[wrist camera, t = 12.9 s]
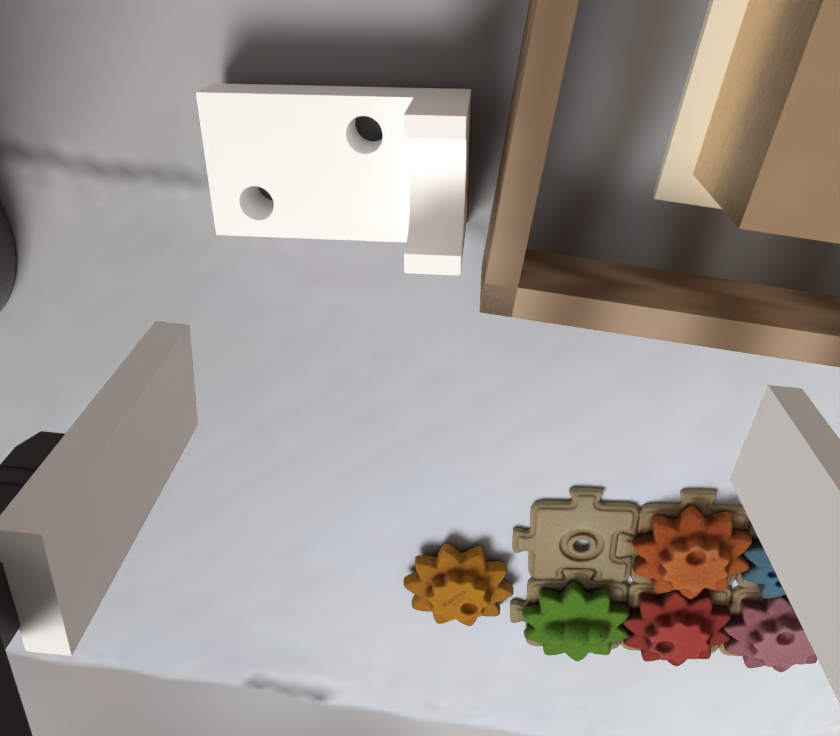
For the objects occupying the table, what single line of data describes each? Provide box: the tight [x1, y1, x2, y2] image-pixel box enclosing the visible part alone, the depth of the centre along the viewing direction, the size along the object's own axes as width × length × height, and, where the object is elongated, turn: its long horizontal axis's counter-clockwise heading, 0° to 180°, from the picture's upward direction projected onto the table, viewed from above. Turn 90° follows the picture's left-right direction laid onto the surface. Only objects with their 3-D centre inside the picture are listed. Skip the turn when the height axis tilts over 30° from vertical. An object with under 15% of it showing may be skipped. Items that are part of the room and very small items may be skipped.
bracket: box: [196, 83, 471, 275], centre depth 35 cm, size 13×7×8 cm, turn 90°
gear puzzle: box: [404, 487, 817, 672], centre depth 51 cm, size 31×16×4 cm, turn 92°
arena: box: [480, 0, 840, 367], centre depth 32 cm, size 24×24×6 cm
